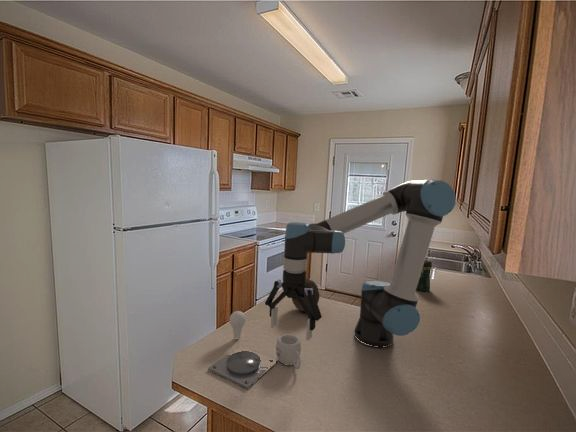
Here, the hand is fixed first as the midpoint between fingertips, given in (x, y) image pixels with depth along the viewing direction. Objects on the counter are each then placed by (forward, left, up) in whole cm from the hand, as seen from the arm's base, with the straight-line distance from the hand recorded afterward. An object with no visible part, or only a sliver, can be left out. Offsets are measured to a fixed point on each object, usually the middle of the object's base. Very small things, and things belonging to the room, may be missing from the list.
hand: (290, 332), depth 98 cm
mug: (0, 0, -11) cm, 11 cm away
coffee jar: (-28, -111, -11) cm, 115 cm away
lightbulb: (+25, -2, -11) cm, 27 cm away
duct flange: (+12, +10, -11) cm, 19 cm away
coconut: (+16, -41, -11) cm, 46 cm away
